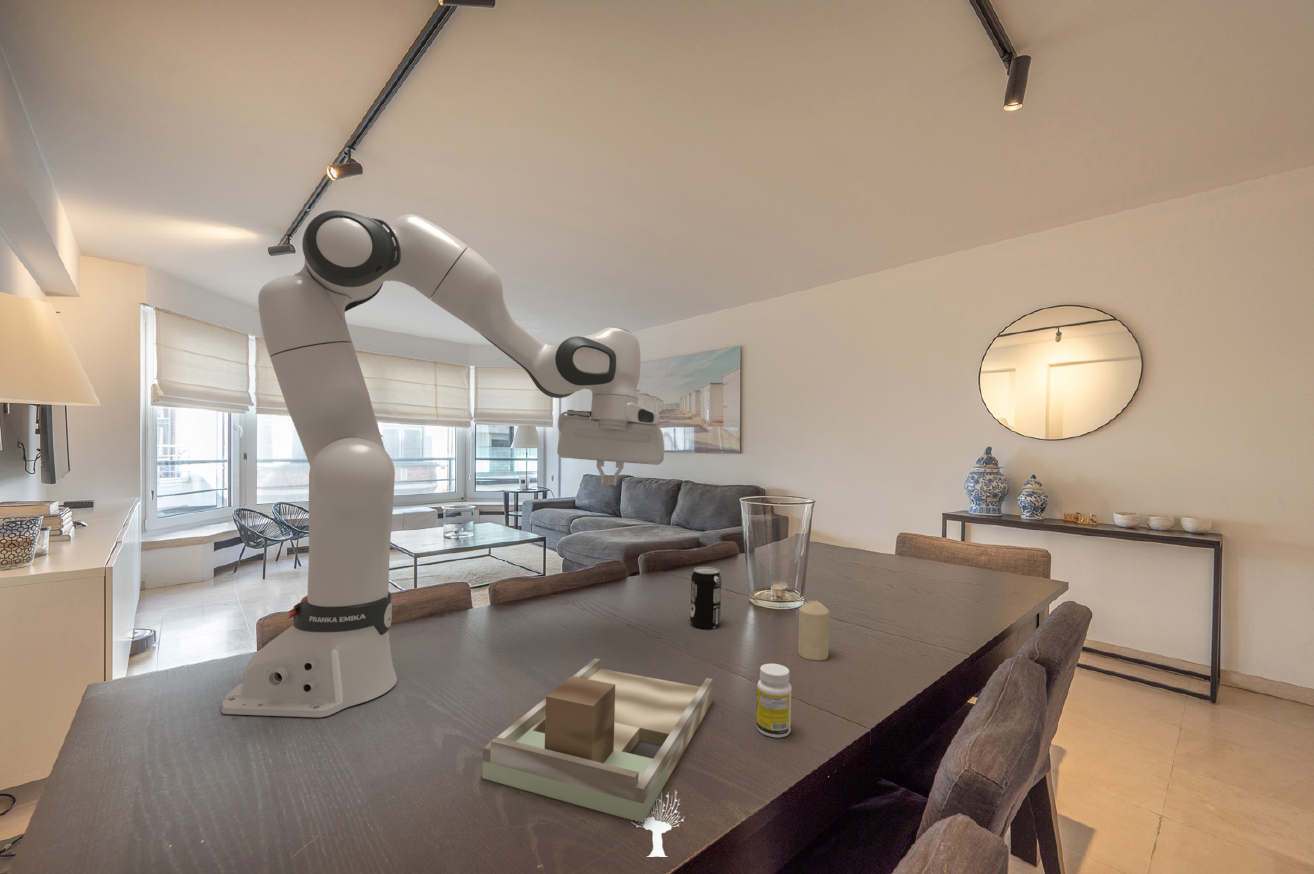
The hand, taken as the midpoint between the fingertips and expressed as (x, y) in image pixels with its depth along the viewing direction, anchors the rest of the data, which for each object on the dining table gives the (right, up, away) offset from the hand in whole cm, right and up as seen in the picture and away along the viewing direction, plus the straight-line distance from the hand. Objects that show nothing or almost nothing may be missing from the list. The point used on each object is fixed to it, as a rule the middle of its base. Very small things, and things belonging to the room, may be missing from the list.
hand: (608, 485), depth 105 cm
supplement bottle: (+25, -32, -28) cm, 49 cm away
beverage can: (+20, -32, +16) cm, 41 cm away
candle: (+39, -32, 0) cm, 51 cm away
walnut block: (0, -29, -40) cm, 49 cm away
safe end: (0, -31, -41) cm, 51 cm away
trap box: (+3, -31, -31) cm, 44 cm away
